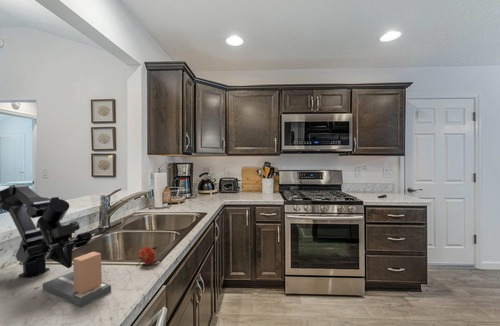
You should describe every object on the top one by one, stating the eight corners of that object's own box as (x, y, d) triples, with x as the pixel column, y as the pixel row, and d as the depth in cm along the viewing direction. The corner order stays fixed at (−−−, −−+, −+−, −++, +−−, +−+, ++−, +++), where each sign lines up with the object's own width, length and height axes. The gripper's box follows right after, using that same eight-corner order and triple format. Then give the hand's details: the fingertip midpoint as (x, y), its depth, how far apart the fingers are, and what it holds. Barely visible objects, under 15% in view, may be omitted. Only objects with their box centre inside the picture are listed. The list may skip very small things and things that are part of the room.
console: (42, 289, 78) (42, 283, 78) (72, 277, 86) (72, 271, 86) (81, 307, 68) (80, 299, 68) (111, 291, 77) (110, 284, 77)
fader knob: (74, 290, 73) (73, 258, 72) (94, 281, 78) (93, 251, 78) (81, 293, 71) (80, 260, 71) (101, 284, 76) (100, 253, 76)
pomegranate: (140, 275, 91) (162, 256, 94) (127, 261, 91) (149, 242, 93) (143, 269, 99) (163, 251, 101) (131, 256, 98) (151, 239, 101)
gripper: (25, 222, 72) (44, 265, 68) (89, 210, 89) (108, 243, 84) (14, 243, 76) (31, 285, 71) (77, 227, 93) (95, 261, 88)
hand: (70, 267), depth 79 cm, fingers closed
